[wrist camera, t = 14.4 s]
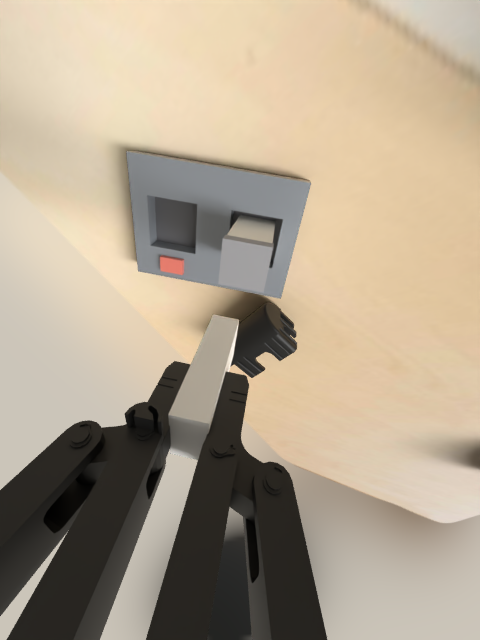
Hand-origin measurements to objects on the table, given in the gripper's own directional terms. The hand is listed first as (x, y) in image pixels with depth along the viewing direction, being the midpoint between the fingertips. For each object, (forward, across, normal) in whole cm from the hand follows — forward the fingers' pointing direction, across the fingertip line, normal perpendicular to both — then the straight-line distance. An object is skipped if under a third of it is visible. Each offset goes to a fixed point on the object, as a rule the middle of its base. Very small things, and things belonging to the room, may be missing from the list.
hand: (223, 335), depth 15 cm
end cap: (+22, +2, -14) cm, 26 cm away
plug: (+21, 0, 0) cm, 21 cm away
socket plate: (+22, -6, 0) cm, 22 cm away
